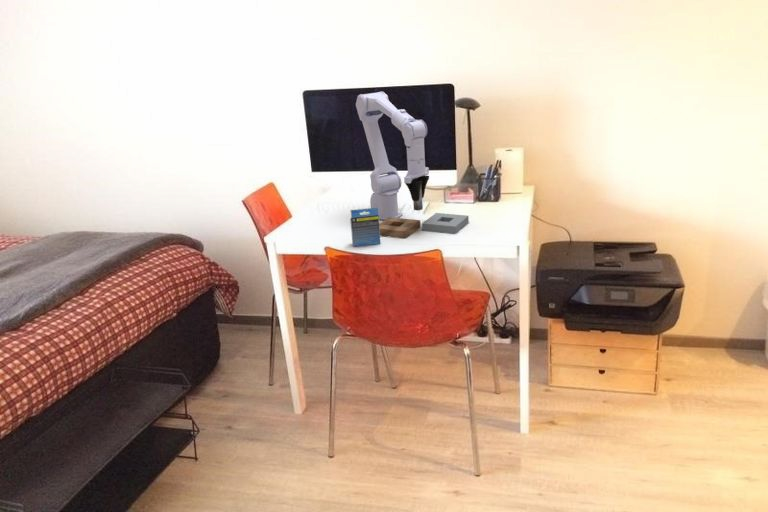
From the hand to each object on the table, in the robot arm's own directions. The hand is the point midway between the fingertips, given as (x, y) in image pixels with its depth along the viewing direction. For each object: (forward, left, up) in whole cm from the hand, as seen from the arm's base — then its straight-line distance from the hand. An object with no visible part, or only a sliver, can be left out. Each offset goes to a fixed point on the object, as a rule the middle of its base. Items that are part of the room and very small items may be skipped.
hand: (418, 199), depth 202 cm
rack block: (+7, +5, -11) cm, 14 cm away
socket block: (-7, -4, -11) cm, 13 cm away
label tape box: (-11, -18, -11) cm, 23 cm away
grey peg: (0, 0, -3) cm, 3 cm away
